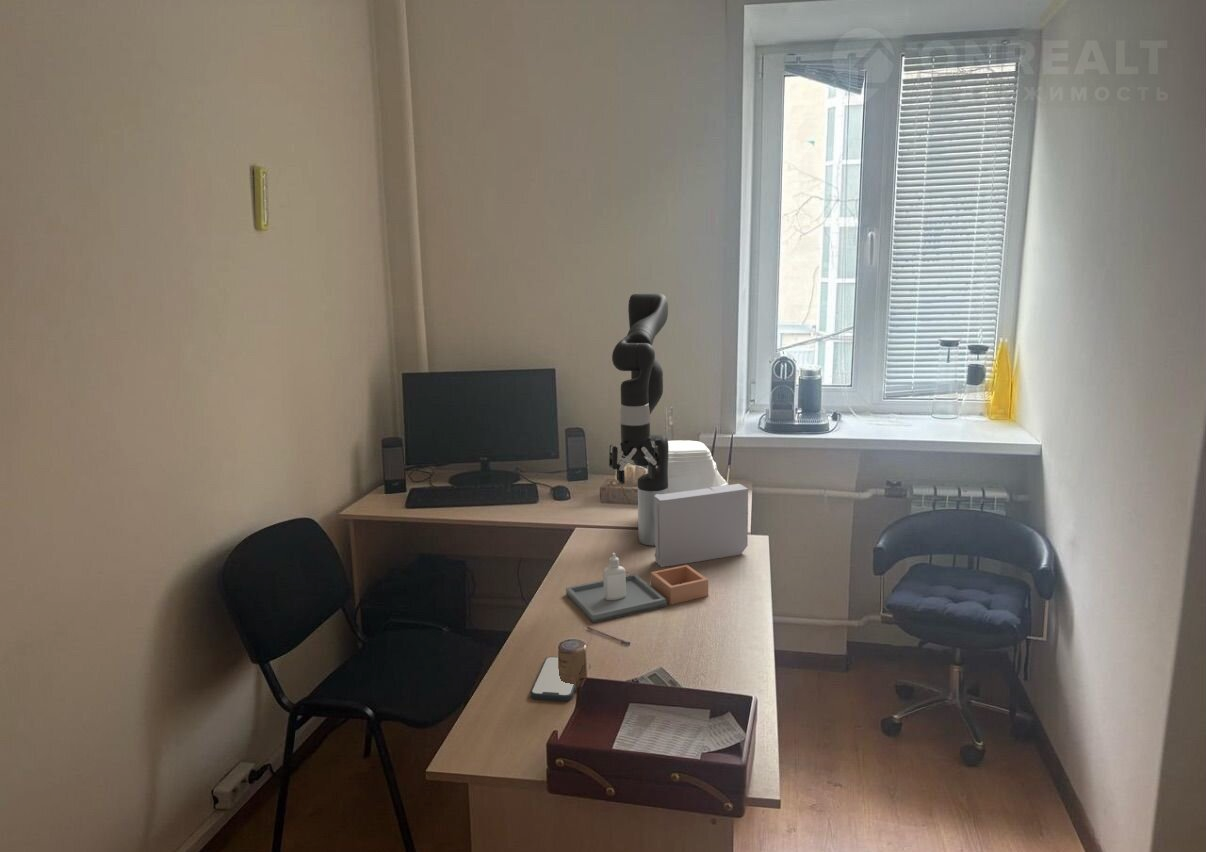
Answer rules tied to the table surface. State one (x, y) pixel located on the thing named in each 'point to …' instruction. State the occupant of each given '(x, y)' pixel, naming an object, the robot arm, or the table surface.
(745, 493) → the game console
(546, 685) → the phone case
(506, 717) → the table surface
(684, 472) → the paper stack
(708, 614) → the table surface
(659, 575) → the holder box
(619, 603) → the tray
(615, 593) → the eye dropper bottle
